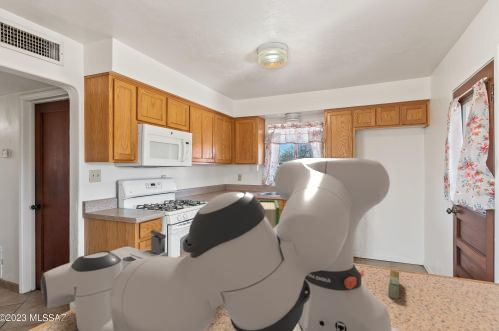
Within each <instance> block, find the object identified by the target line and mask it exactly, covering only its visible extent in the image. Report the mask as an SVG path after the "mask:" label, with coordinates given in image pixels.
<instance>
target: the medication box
mask: <svg viewBox="0 0 499 331" xmlns="http://www.w3.org/2000/svg"><path fill="white" fill-rule="evenodd" d="M387 292H388V294H387V296H388V298H390V299H391V298H392V299H396V300H398V299H399V298H400V297H399V295H400V271H397V270H393V269H390V270H389V282H388V291H387Z"/></svg>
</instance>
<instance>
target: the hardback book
mask: <svg viewBox="0 0 499 331" xmlns="http://www.w3.org/2000/svg"><path fill="white" fill-rule="evenodd" d="M258 200H259V202H260V203H261V204H262V206H263V208H264V209H265V211H266V215H265V216H266V217H267V219H268V221H269V222H270V224H271V226H272V228H274V227H275V226H276V225H277V224H278V223H279V219H280V206H279V203H278V201H277V199H258Z"/></svg>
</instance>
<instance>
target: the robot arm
mask: <svg viewBox="0 0 499 331" xmlns="http://www.w3.org/2000/svg"><path fill="white" fill-rule="evenodd" d="M390 184H391V182H390V177H389V174H388V171H387V169H386V167H385V166H384V165H383V164H382V163H381V162H380V161H378V160H372V159H367V158H361V157H334V158H333V157H331V158H330V157H329V158H327V157H324V158H299V159H298V158H297V159H292V160H288V161H283V162H282V163H281V164H280V165H279V167H278V168H277V169H276V172H275V176H274V186H275V189H276V192H277V194H278V195H279V196H280V198H282V199H283V200H285V201H286V203H285V204H284V206H283V209H282V211H281V214H280V215H279V223H278V224H277V225H276V226H275V227H274V228H272V226H271V224H270V222H269V221H268V219H267V217H266V216H265V215H266V211H265V209H264V208H263V206H262V204H261V203H260V202H259V200H260V199H258V197H257V196H256V195H255V194H254V193H253V192H249V191H245V190H244V191H243V190H241V191H230V192H225V193H221V194H219V195H216V196H214V197H213V198H211V199H210V200H208V201H207V203H205V204H204V205H203V206H202V207H201V208H199V209H198V210H197V211H196V213H195V215H194V217H193V219H192V220H191V223H190V224H189V225H190V226H189V231H188V235H187V236H186V237H185V239H184V240H183V242H182V250H183V252H185V253H188V254H186V255H184V256H181V257H173V256H168V255H169V254H168V252H167V251H165V252H161V253H160V255H155V254H151V248H149V249H138V248H135V247H131V246H122V247H120V248H115V249H113V250H110V251H109V250H102V251H96V252H92V253H89V254H86V255H82V256H81V255H80V256H78V257H77V258H76V259H75V260H74V261H71V262H68V263H65V264H62V265H60V266H57V267H55V268H54V267H53V268H52V269H49V270H47V271H45V272H43V274H42V276H41V278H40V294H41V295H40V297H41V301H42V304H43V306H44V307H45V308H46V309H51V308H56V307H57V308H58V307H61V306H64V305H67V304H71V303H74V306H75V307H74V308H75V309H74V310H75V320H76V325H75V326H76V329H75V330H76V331H206V330H207V329H208V328H209V326H210V325H211V324H212V322H213V320H214V318H215V317H216V313H217V310H218V308H219V307H220V306H223V307H224V310H225V311H226V313H227V315H228V316H229V318H230V322H231V325H232V327H233V328H234V330H235V331H294V330H295V328H296V327H297V325H298V324H299V326H300V327H301V328H302V331H400V330H399V329H398V328H396V327H394V326H393V325H392V324H391V317H390V314H389V311H388V309H387V307H386V305H385V304H384V303H382V302H381V301H380V300H379V299H378V298H377V297H376V296H375V295H374V294H373V293H372V292H371V291H370V290H369V289H368V288H367V287H366V286H365V285H364V284H363V283H362V277H364V276H365V270H364V269H363V270H361V271H360V272H359V270H358V269H357V268H356V266H355V264H354V248H355V237H356V233H357V228H358V226H359V223H360V222H361V221H362V219H363V217H364V216H365V215H366V214H367V213H368V212H369V211H370V210H371V209H373V207H375V206H377V205H379V204H380V203H382V201H383V200H384V199H385V198H386V197H387V196H388V192H389V190H390Z"/></svg>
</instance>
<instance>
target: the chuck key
mask: <svg viewBox="0 0 499 331" xmlns="http://www.w3.org/2000/svg"><path fill="white" fill-rule="evenodd" d="M150 234H151V235H152V236H150V249H151V254H155V255H160V253H161V252H166V238H167V235H166V234H165V233H163V232H160V231H158V230H154V229H151V230H150Z"/></svg>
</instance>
